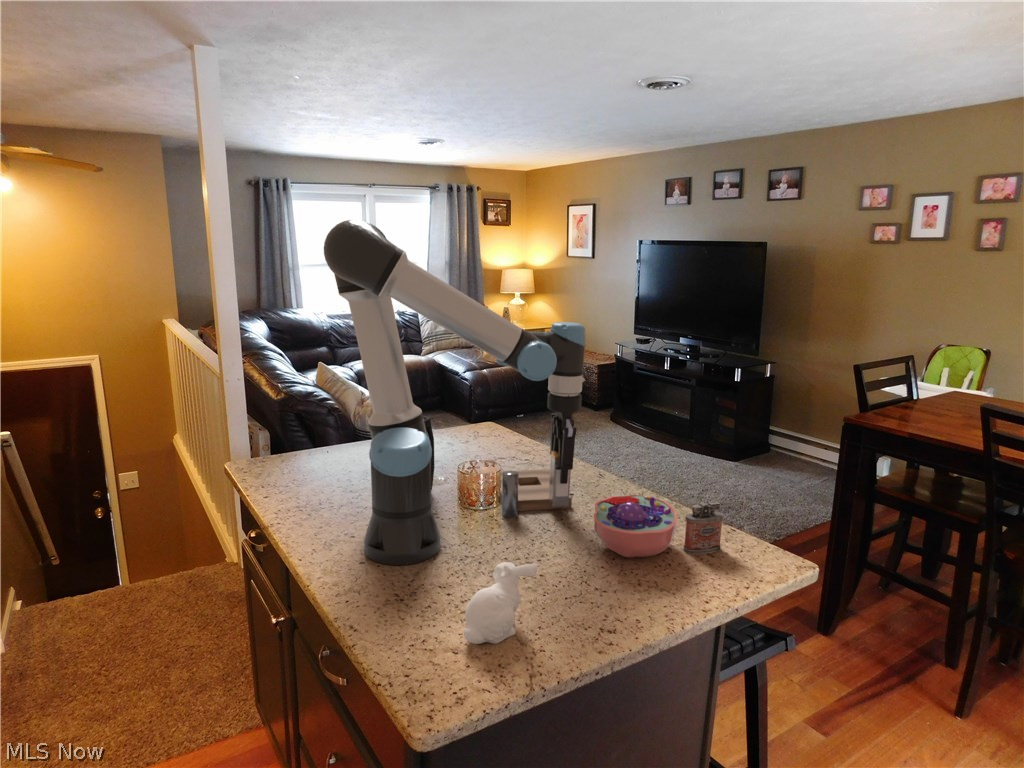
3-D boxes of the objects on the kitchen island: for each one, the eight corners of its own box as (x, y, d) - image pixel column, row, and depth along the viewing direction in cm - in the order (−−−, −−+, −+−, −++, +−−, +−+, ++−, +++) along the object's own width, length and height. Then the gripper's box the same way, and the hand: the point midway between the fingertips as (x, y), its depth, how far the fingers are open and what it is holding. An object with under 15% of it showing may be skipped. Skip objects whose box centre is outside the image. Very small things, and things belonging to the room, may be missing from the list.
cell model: (687, 540, 131) (691, 490, 128) (658, 582, 114) (662, 525, 111) (612, 522, 139) (614, 474, 137) (573, 558, 122) (576, 504, 120)
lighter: (688, 555, 124) (692, 508, 122) (679, 547, 127) (683, 502, 125) (724, 551, 126) (728, 504, 124) (714, 543, 129) (718, 498, 127)
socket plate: (571, 507, 146) (571, 497, 146) (504, 511, 144) (504, 501, 143) (551, 478, 166) (552, 469, 165) (492, 480, 163) (492, 471, 163)
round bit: (518, 517, 141) (519, 475, 139) (503, 518, 140) (503, 476, 138) (516, 511, 144) (517, 470, 142) (500, 512, 143) (501, 470, 141)
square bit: (568, 506, 142) (571, 456, 140) (552, 506, 141) (555, 456, 139) (564, 499, 146) (567, 450, 143) (548, 500, 145) (551, 451, 143)
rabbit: (497, 606, 105) (498, 540, 103) (543, 626, 100) (546, 557, 97) (449, 641, 96) (449, 569, 93) (498, 665, 90) (499, 590, 88)
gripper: (592, 401, 131) (585, 506, 135) (571, 384, 147) (565, 478, 152) (557, 401, 129) (551, 507, 134) (540, 384, 146) (535, 479, 150)
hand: (559, 491), depth 143 cm, fingers closed on square bit, 4 cm apart
